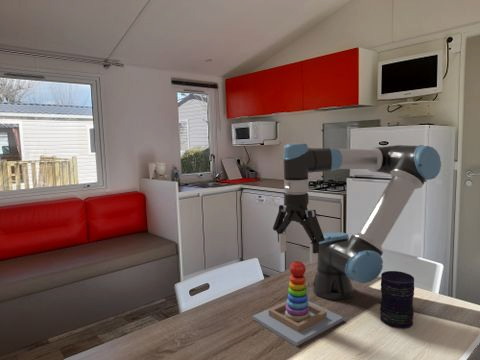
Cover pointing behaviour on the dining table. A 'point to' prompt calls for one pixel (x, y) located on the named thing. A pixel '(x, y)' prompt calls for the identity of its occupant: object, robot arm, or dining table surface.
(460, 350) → the dining table surface
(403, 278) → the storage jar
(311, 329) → the baseplate
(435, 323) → the dining table surface
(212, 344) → the dining table surface
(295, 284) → the stacking toy
